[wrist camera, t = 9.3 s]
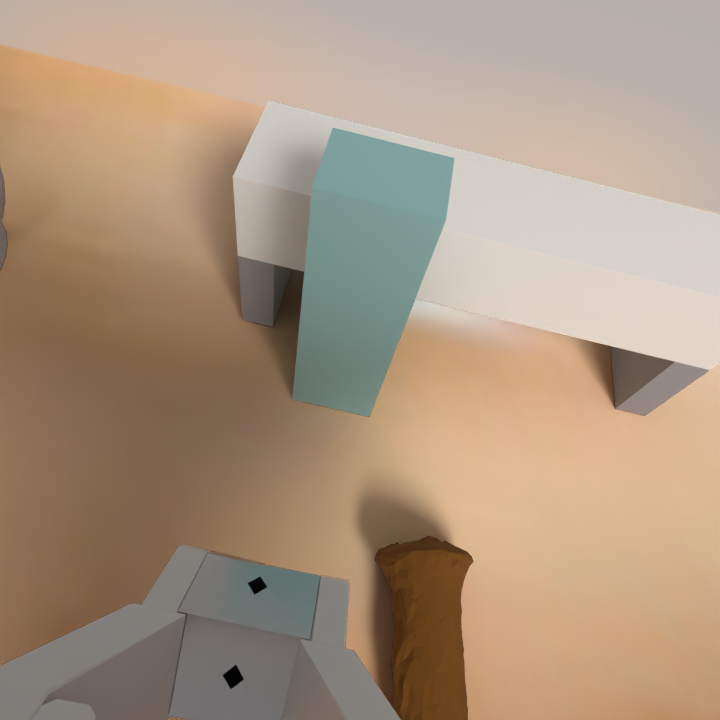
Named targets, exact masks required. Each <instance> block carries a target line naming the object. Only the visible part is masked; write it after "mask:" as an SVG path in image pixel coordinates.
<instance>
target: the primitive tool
mask: <svg viewBox="0 0 720 720" xmlns="http://www.w3.org/2000/svg"><path fill="white" fill-rule="evenodd" d="M375 561H376V562H377V564H378V566H379V567H380V569H381V570H382V571H383V573H384V575H385V577H386V579H387V581H388V582H389V585H390V587H391V590H392V592H393V618H394V639H393V653H392V658H391V665H392V668H393V674H392V676H393V683H394V686H393V709H394V710H395V712H396V713H397V715H398V716H399V718H400V719H401V720H468V708H467V695H466V686H465V670H464V656H463V652H464V648H463V641H462V630H461V614H462V609H461V590H462V586H463V582H464V578H465V575H466V573H467V571H468V568H469V566H470V565H471V564H472V563H473V559H472V556H471V555H470V554H469V553H468V552H467V551H464V550H462V549H460V548H458V547H455V546H453V545H452V544H450V543H448V542H446V541H444V542H442V541H440V540H439V539H437V538H434V537H431V536H427V537H425V538H422V539H421V540H419V541H412V542H406V543H403V544H399V543H398V542H397V543H396V544H391V545H389V546H387V547H385V548H382V549H379V551H378V552H377V554H376V557H375Z"/></svg>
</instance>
